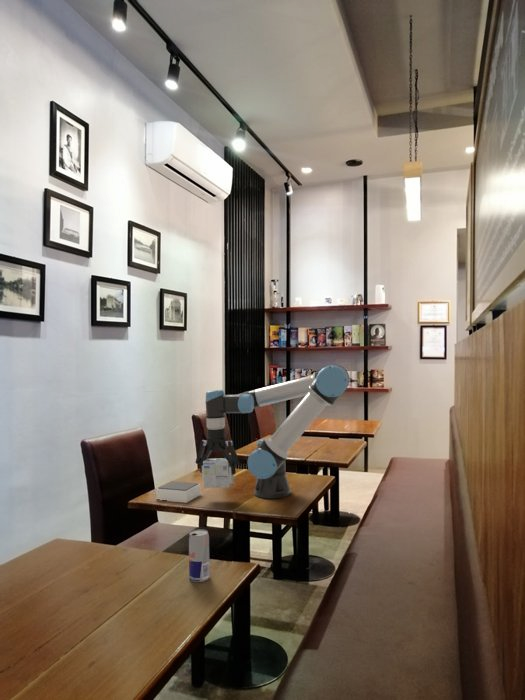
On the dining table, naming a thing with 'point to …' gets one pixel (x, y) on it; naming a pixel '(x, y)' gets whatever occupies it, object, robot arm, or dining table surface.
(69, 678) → the dining table surface
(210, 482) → the light bulb box
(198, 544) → the energy drink
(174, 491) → the stand
